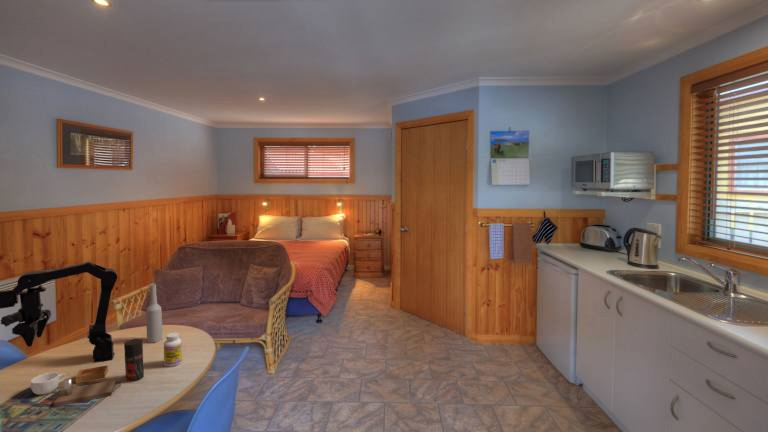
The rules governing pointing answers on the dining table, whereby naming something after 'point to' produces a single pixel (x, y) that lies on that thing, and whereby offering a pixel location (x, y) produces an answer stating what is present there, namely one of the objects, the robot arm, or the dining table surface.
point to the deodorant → (134, 360)
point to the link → (91, 374)
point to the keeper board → (86, 393)
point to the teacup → (45, 382)
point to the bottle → (154, 318)
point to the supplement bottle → (172, 350)
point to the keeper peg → (68, 386)
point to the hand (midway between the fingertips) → (34, 341)
